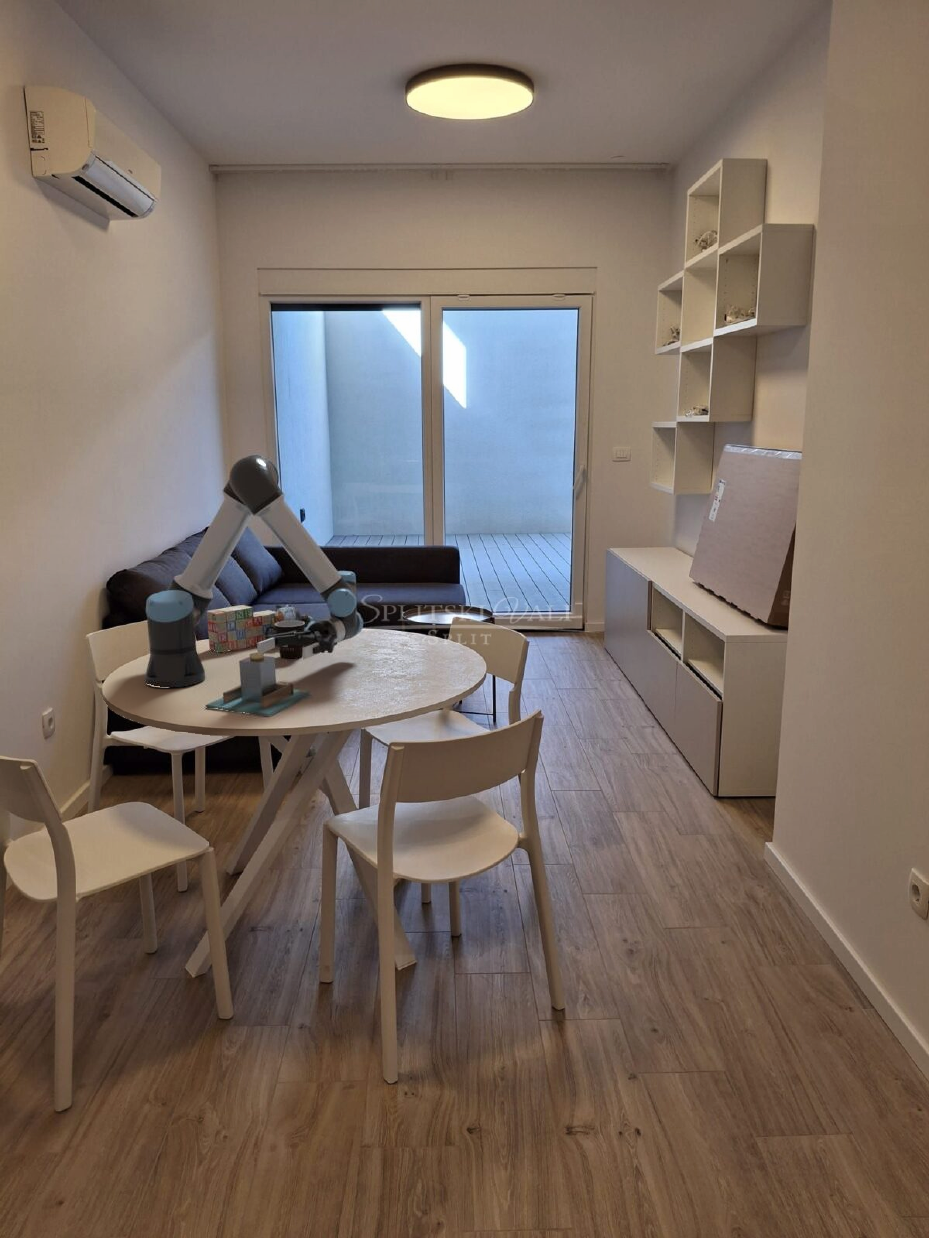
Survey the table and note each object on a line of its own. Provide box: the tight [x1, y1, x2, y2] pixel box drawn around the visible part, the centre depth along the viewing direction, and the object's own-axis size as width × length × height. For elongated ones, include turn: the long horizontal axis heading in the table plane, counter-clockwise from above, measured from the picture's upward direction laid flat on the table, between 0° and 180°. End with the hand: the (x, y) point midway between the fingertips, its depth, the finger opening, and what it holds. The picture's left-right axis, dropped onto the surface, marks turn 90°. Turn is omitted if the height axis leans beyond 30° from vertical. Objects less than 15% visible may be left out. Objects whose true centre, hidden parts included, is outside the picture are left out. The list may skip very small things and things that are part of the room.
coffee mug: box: [266, 620, 305, 661], centre depth 256 cm, size 12×9×10 cm
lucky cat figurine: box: [273, 604, 317, 648], centre depth 272 cm, size 15×12×14 cm
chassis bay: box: [205, 682, 312, 718], centre depth 214 cm, size 18×18×3 cm
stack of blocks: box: [206, 604, 276, 654], centre depth 269 cm, size 21×6×12 cm, turn 134°
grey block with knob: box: [238, 652, 277, 703], centre depth 213 cm, size 6×6×11 cm
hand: (280, 650), depth 221 cm, fingers open, 13 cm apart
